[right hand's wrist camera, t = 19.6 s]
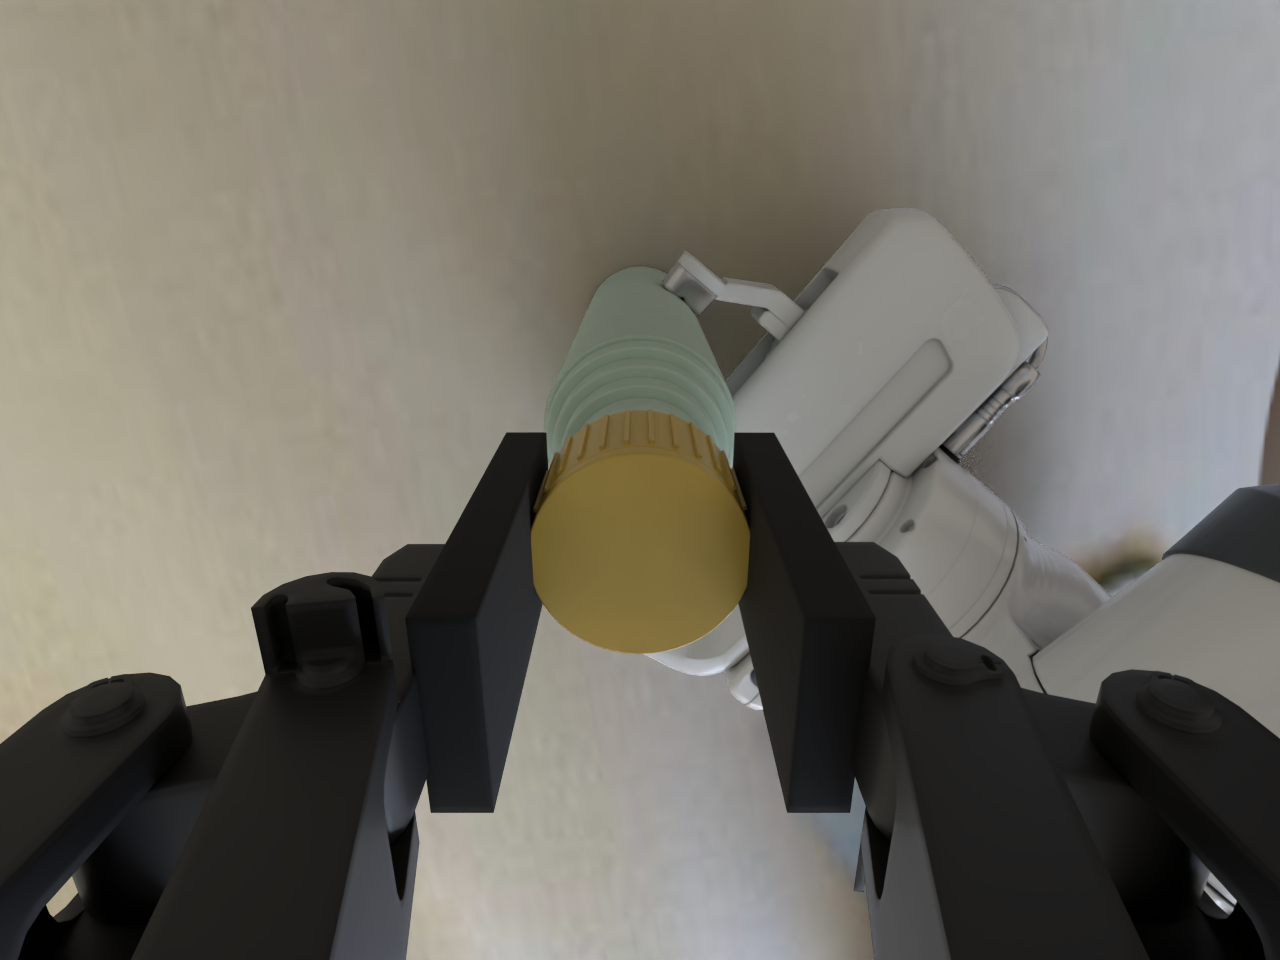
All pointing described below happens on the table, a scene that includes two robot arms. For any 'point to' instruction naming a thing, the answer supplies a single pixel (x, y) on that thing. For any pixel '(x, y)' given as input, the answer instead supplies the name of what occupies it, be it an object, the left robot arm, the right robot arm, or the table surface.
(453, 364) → the table surface
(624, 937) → the table surface
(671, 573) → the cap
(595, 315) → the bottle
